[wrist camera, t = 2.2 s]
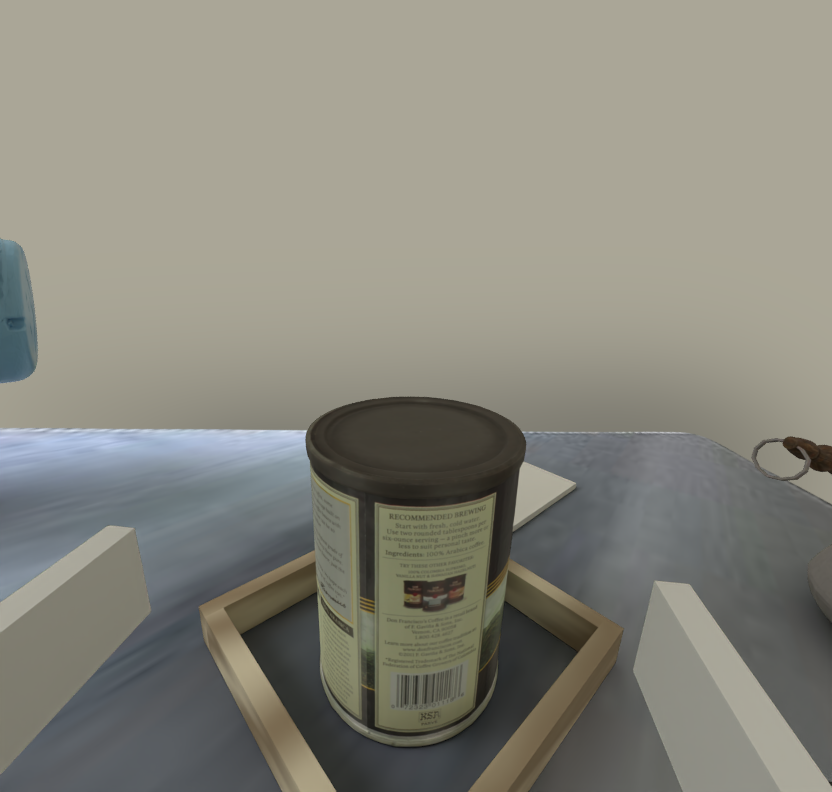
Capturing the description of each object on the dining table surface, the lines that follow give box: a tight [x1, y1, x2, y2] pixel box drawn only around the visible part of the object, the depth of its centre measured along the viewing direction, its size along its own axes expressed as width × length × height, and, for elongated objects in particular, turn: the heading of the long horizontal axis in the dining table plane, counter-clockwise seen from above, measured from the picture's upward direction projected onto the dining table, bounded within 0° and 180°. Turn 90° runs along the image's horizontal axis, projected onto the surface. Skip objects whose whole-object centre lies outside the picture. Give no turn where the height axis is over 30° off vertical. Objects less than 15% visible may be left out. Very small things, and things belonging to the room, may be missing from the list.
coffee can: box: [306, 397, 526, 747], centre depth 22 cm, size 10×10×14 cm
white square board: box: [513, 462, 576, 532], centre depth 43 cm, size 15×15×1 cm
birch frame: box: [199, 550, 624, 792], centre depth 24 cm, size 17×17×2 cm
